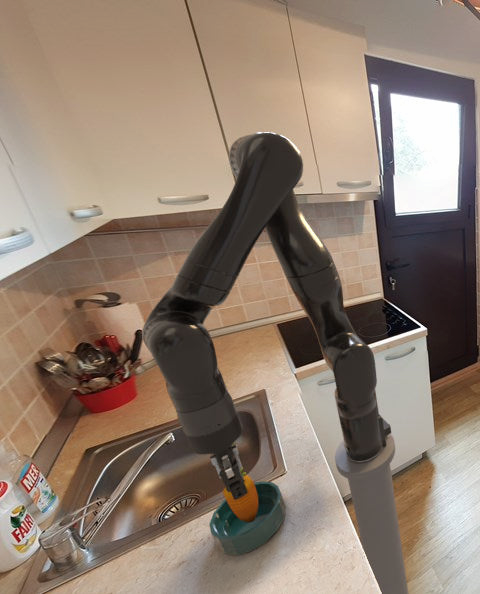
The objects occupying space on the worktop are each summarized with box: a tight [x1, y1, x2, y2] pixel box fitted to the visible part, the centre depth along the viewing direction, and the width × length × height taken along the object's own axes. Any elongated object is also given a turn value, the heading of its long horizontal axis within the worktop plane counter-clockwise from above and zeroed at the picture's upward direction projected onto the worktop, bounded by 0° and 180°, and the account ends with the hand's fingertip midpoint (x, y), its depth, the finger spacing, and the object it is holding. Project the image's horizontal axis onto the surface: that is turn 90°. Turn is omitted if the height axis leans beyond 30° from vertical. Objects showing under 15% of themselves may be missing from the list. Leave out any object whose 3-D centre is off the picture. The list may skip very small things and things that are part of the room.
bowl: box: [209, 481, 287, 556], centre depth 69 cm, size 12×12×6 cm
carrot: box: [222, 466, 258, 523], centre depth 65 cm, size 5×5×15 cm
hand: (238, 486), depth 64 cm, fingers closed on carrot, 4 cm apart
